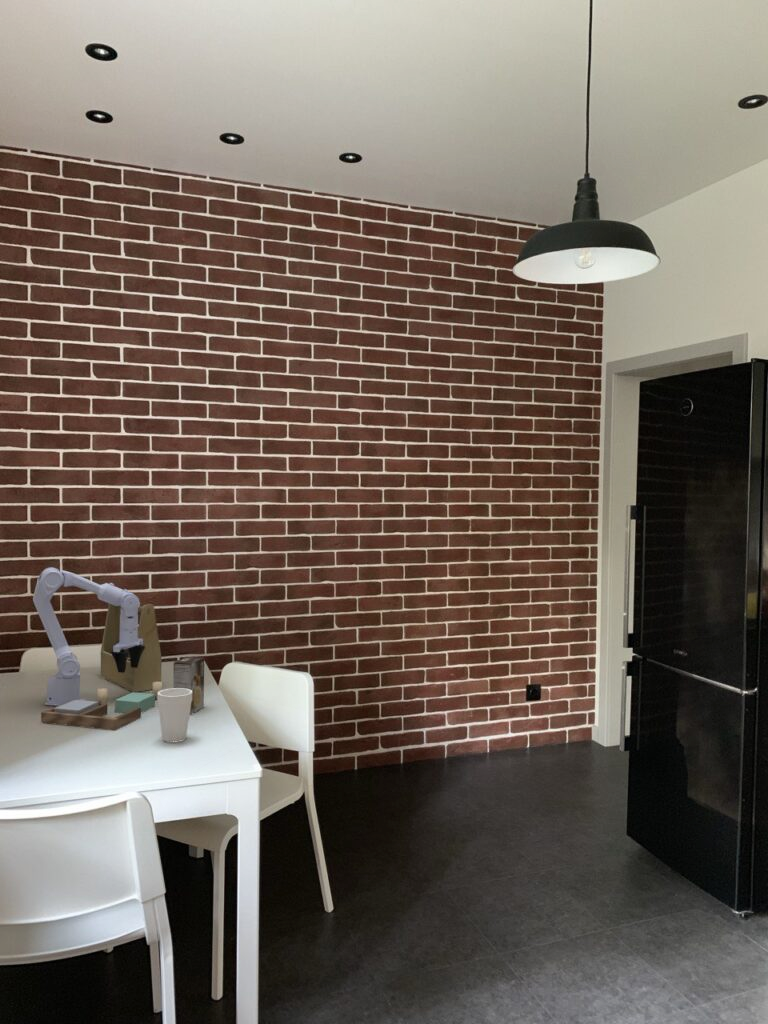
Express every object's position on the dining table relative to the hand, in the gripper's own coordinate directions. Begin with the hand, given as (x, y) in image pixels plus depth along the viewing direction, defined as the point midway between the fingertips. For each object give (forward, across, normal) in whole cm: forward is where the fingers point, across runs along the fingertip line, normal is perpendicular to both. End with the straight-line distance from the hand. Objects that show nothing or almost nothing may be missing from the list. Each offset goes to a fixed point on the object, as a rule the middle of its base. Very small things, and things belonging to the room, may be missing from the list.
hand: (128, 669), depth 250 cm
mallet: (+10, -6, -10) cm, 15 cm away
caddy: (+10, +19, +11) cm, 24 cm away
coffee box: (+10, -7, -26) cm, 29 cm away
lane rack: (+9, -24, -4) cm, 27 cm away
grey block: (+10, -19, +2) cm, 22 cm away
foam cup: (+10, -34, -36) cm, 50 cm away
